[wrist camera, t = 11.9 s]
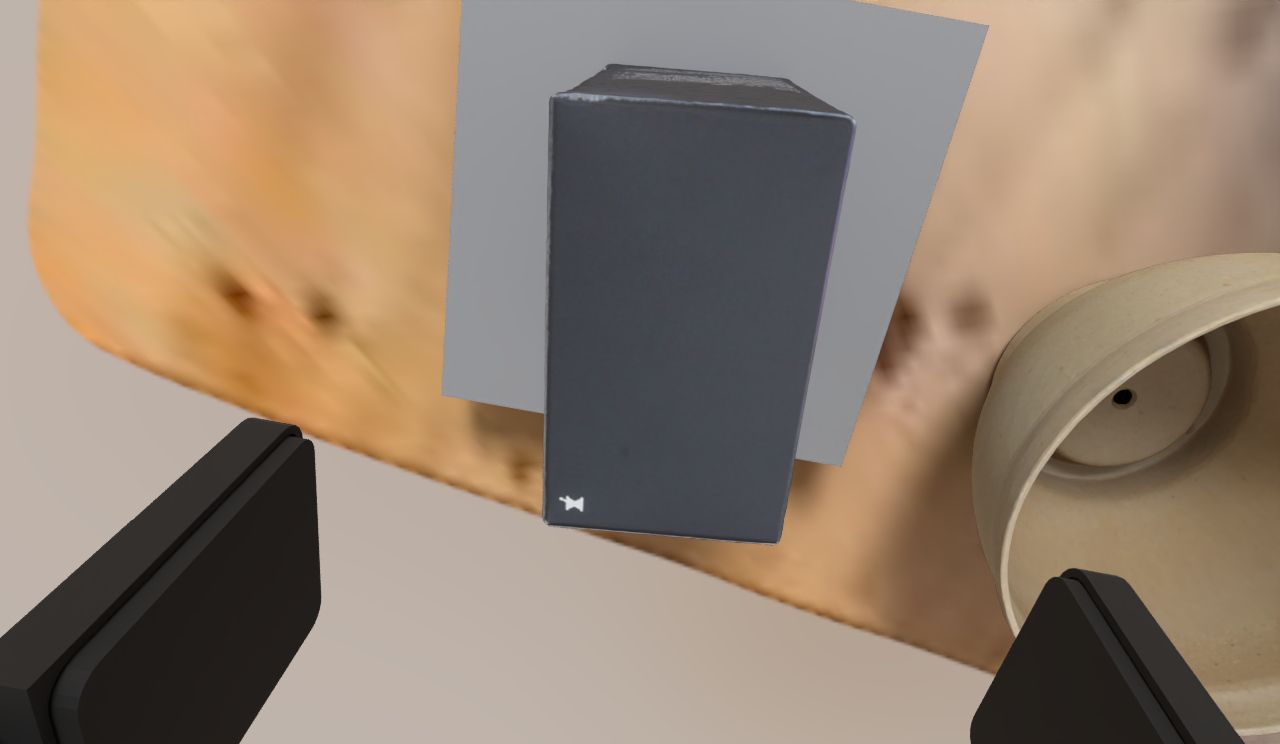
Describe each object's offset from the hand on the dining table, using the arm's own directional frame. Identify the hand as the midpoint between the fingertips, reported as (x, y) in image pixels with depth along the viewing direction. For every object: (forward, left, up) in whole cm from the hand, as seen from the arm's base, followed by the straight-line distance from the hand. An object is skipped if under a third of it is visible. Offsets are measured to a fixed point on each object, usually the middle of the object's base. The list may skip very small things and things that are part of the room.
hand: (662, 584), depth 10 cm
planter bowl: (-19, +4, -22) cm, 29 cm away
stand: (0, 0, -22) cm, 22 cm away
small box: (0, 0, -18) cm, 18 cm away
